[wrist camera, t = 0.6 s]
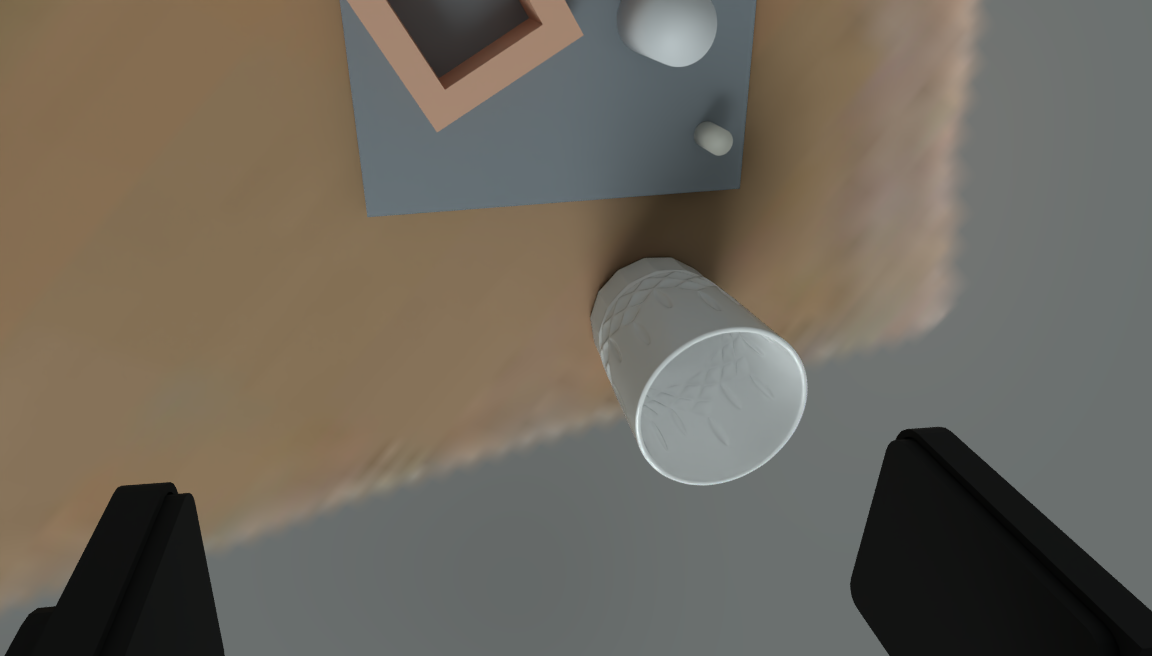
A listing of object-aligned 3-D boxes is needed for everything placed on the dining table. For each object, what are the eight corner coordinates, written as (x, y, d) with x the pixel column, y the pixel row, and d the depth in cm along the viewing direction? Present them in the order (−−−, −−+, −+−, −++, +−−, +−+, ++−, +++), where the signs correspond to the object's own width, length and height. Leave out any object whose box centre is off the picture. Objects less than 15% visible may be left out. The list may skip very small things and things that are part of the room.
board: (367, 209, 36) (367, 247, 32) (314, -206, 29) (305, -233, 25) (729, 182, 40) (776, 212, 35) (760, -191, 33) (823, -212, 28)
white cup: (650, 215, 40) (729, 291, 31) (746, 300, 43) (841, 390, 35) (549, 328, 41) (597, 432, 33) (649, 401, 45) (718, 512, 36)
